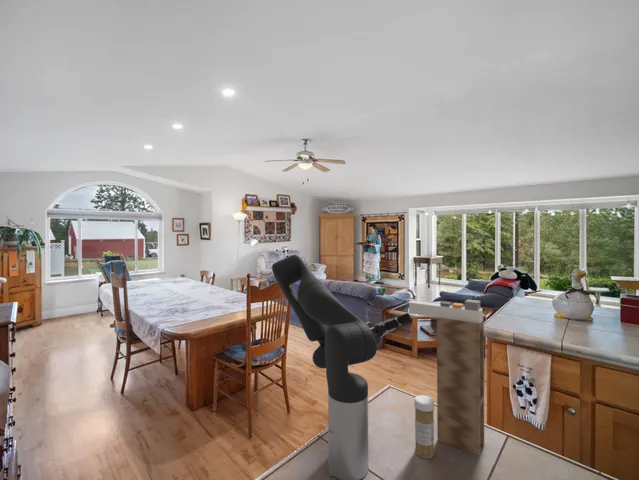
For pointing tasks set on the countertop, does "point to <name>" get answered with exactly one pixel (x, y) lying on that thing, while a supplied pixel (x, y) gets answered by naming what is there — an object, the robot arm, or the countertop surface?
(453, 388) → the tall wooden block
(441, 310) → the power strip
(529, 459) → the countertop surface
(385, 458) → the countertop surface
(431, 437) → the sprinkles bottle
